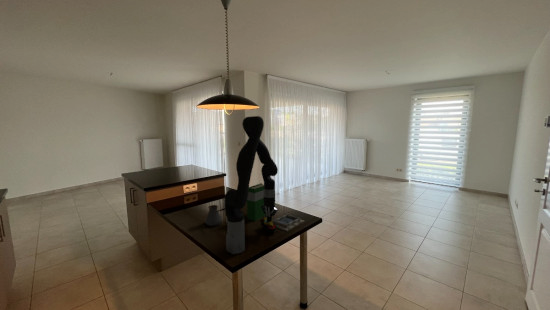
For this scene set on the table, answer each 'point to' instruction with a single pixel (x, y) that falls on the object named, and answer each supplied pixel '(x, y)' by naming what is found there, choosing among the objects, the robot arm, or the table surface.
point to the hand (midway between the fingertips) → (269, 221)
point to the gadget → (268, 225)
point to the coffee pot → (213, 216)
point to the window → (287, 222)
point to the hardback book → (255, 202)
